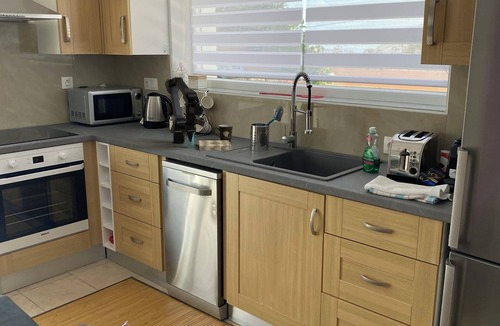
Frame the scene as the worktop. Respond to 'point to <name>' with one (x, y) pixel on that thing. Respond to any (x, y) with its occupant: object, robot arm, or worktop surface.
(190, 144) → the peg
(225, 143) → the keyhole board
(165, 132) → the worktop surface
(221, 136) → the coffee mug
